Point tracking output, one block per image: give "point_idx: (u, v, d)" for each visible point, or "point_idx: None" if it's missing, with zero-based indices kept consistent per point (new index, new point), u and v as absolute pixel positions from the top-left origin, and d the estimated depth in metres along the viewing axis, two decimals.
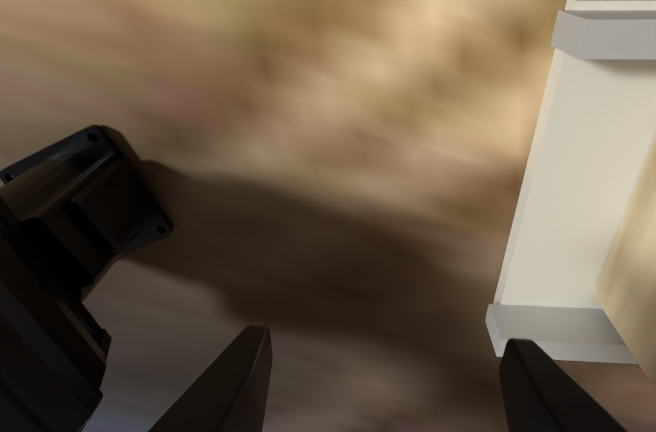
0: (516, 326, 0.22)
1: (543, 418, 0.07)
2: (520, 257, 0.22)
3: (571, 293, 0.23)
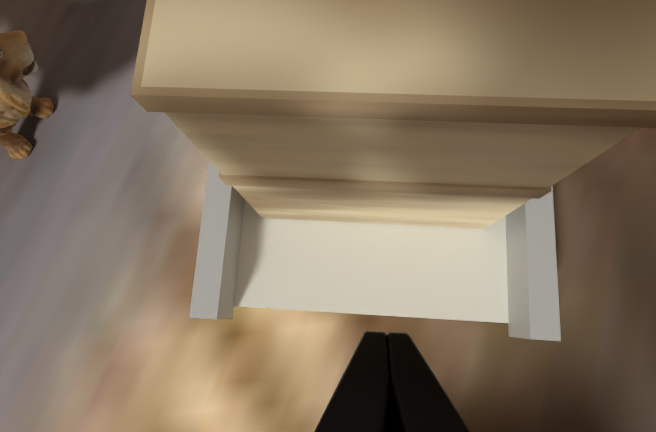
0: (521, 314, 0.19)
1: (394, 409, 0.07)
2: (441, 310, 0.21)
3: (485, 249, 0.21)
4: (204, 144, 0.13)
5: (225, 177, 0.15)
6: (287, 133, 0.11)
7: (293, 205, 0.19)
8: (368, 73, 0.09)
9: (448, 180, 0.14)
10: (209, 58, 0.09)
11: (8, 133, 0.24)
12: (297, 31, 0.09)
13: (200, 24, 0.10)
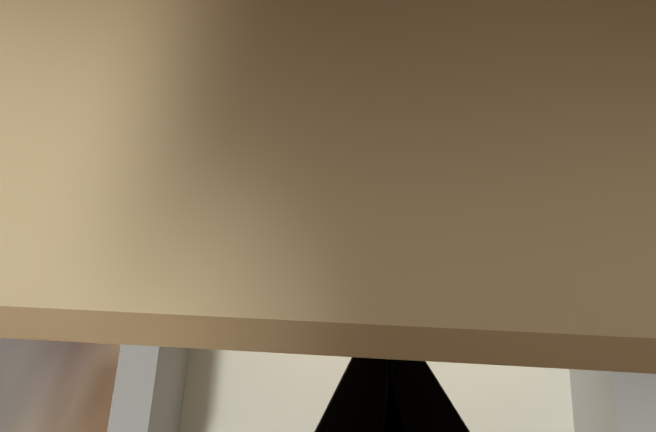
0: None
1: (393, 409, 0.07)
2: None
3: (542, 405, 0.14)
4: None
5: None
6: None
7: None
8: (348, 252, 0.03)
9: None
10: None
11: None
12: (138, 112, 0.03)
13: None
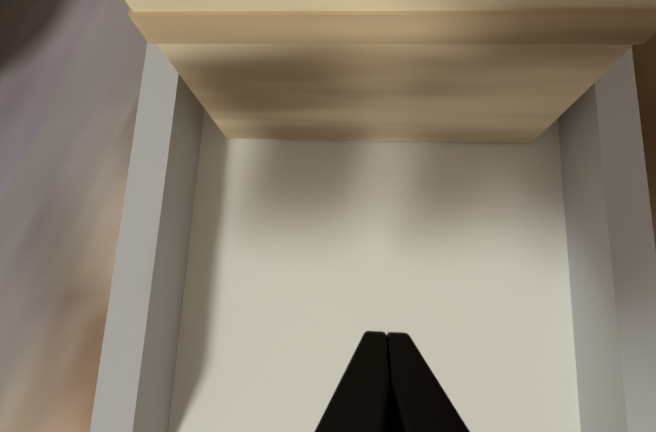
0: None
1: (393, 409, 0.07)
2: None
3: (543, 350, 0.14)
4: None
5: (139, 16, 0.09)
6: None
7: (262, 101, 0.13)
8: None
9: None
10: None
11: None
12: None
13: None
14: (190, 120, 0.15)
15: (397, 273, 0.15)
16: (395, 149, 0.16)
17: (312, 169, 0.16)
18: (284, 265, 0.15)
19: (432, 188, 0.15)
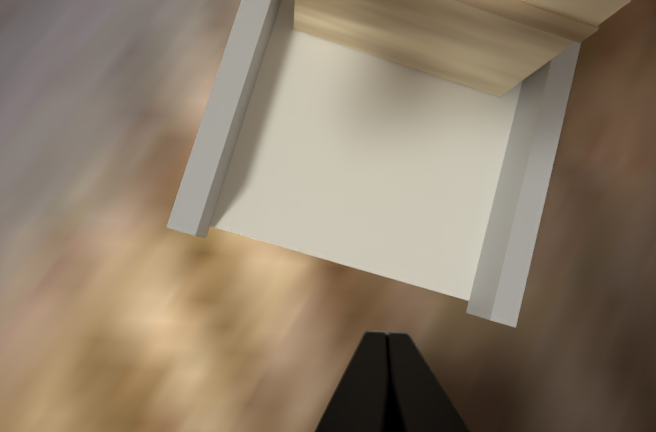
0: (485, 296, 0.20)
1: (393, 409, 0.07)
2: (411, 275, 0.21)
3: (466, 228, 0.22)
4: None
5: None
6: None
7: (339, 8, 0.19)
8: None
9: None
10: None
11: None
12: None
13: None
14: (274, 7, 0.21)
15: (389, 157, 0.22)
16: (410, 74, 0.22)
17: (350, 71, 0.22)
18: (315, 132, 0.21)
19: (427, 108, 0.22)
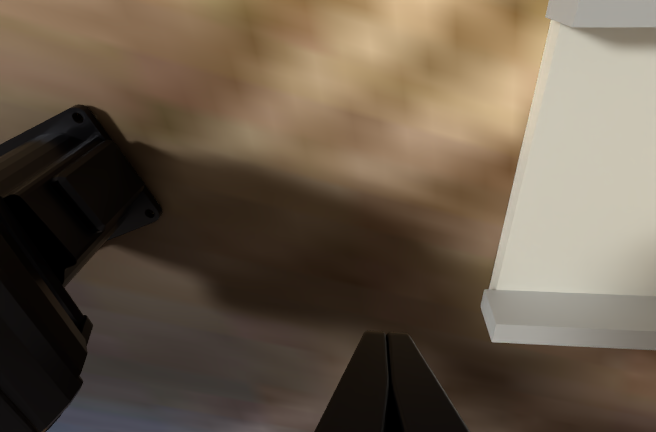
0: (512, 311, 0.21)
1: (393, 409, 0.07)
2: (516, 240, 0.21)
3: (568, 277, 0.22)
4: None
5: None
6: None
7: None
8: None
9: None
10: None
11: None
12: None
13: None
14: None
15: (650, 197, 0.19)
16: None
17: None
18: None
19: None
